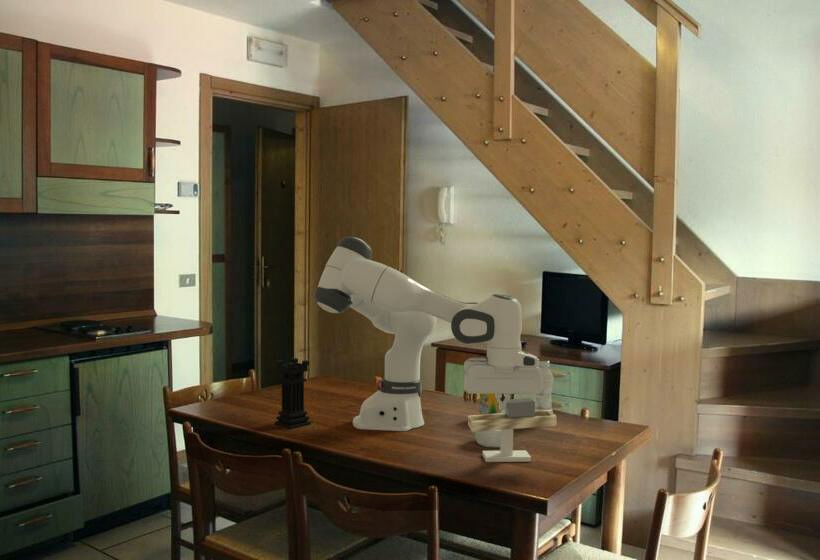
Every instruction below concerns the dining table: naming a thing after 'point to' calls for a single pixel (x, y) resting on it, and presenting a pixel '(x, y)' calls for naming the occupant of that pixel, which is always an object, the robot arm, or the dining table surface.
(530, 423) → the beam
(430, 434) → the dining table surface
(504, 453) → the stand
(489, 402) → the crayon box
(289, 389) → the chess piece
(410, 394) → the robot arm
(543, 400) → the plastic bottle
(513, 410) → the block
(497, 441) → the ramekin
